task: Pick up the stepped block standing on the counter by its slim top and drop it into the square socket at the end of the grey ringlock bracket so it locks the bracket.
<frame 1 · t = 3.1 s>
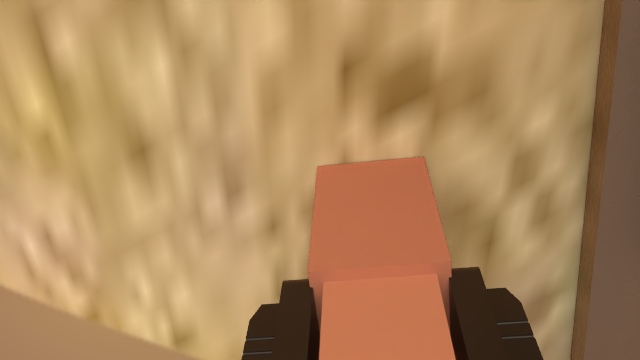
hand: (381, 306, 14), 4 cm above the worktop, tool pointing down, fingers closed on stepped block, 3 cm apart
stepped block: (374, 207, 18), on the worktop, touching gripper
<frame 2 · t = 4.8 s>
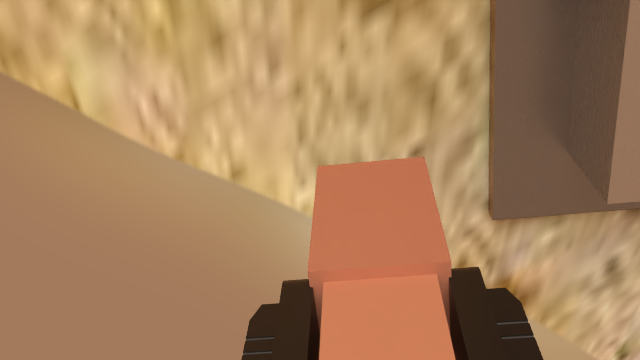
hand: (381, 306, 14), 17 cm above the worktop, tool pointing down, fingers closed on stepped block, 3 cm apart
stepped block: (374, 207, 18), point 12 cm above the worktop, touching gripper
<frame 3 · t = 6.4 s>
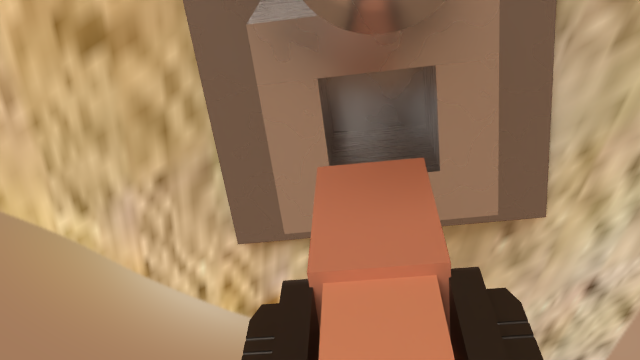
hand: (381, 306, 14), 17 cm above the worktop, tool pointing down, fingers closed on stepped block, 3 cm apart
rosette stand: (374, 77, 29), on the worktop
stepped block: (374, 208, 18), point 12 cm above the worktop, touching gripper
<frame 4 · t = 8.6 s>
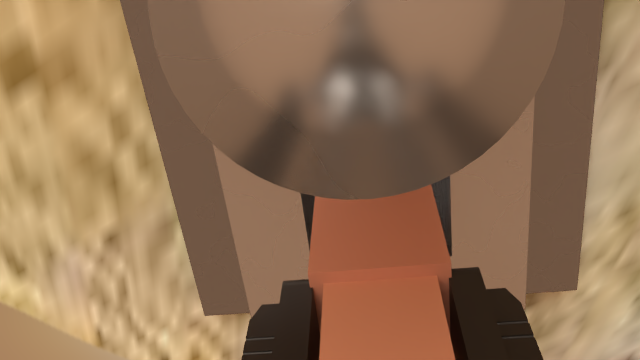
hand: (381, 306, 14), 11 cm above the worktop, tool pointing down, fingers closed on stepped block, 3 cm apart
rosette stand: (369, 123, 23), on the worktop
stepped block: (374, 208, 18), point 6 cm above the worktop, touching gripper
when the fingers open (7 cm above the worktop, at t = 10.1 s): stepped block drops 2 cm, resting on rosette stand.
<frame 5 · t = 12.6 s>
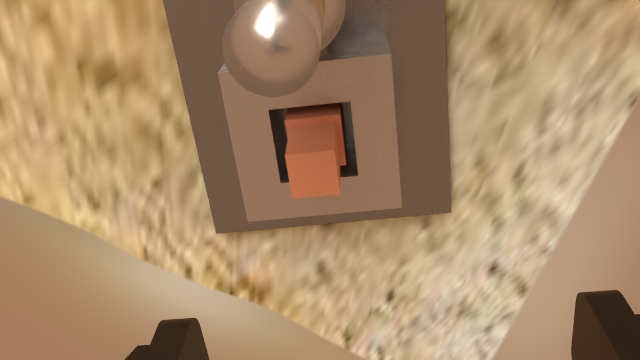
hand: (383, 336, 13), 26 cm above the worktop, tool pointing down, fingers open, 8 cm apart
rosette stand: (318, 106, 39), on the worktop
stepped block: (318, 111, 38), point 1 cm above the worktop, touching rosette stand
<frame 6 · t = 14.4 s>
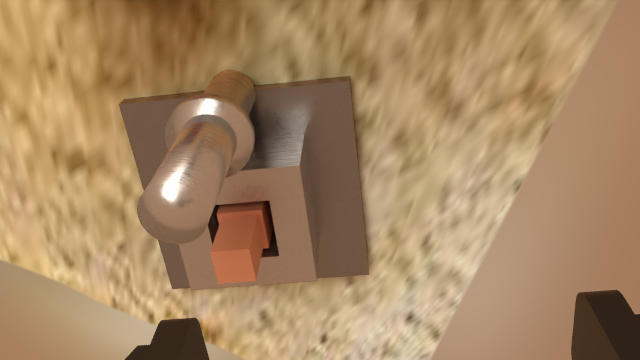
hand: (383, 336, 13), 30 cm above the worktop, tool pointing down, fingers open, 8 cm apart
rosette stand: (254, 188, 46), on the worktop
stepped block: (253, 194, 45), point 1 cm above the worktop, touching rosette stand
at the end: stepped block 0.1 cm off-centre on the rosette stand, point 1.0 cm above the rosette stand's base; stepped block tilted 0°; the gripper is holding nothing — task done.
